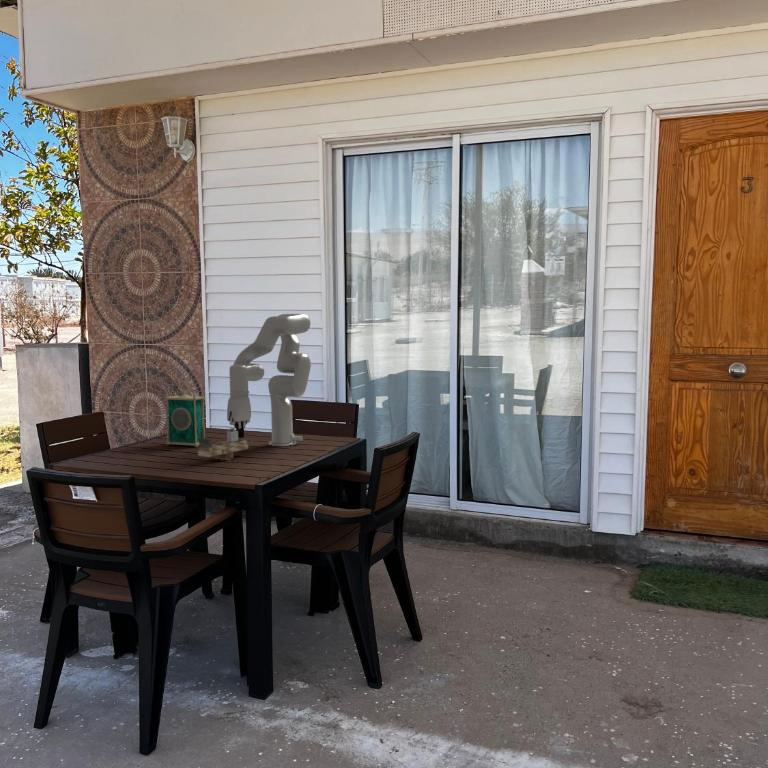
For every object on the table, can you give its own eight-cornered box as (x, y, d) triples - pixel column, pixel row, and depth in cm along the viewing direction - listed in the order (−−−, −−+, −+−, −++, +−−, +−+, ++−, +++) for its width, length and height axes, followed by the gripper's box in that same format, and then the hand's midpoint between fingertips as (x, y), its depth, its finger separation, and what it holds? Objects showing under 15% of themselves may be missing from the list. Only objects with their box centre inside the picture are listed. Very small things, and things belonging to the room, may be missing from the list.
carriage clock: (165, 446, 345) (162, 380, 342) (176, 442, 353) (174, 378, 350) (196, 447, 339) (194, 381, 336) (207, 444, 347) (205, 379, 344)
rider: (234, 444, 318) (233, 427, 317) (238, 444, 317) (237, 428, 316) (227, 445, 315) (226, 429, 314) (231, 446, 313) (230, 429, 313)
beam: (237, 454, 323) (236, 430, 322) (249, 455, 319) (248, 432, 318) (197, 462, 305) (196, 438, 304) (209, 464, 301) (208, 439, 300)
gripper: (245, 392, 326) (246, 434, 327) (219, 395, 313) (220, 439, 315) (258, 393, 321) (259, 436, 323) (232, 396, 309) (233, 440, 311)
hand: (240, 437), depth 319 cm, fingers closed
